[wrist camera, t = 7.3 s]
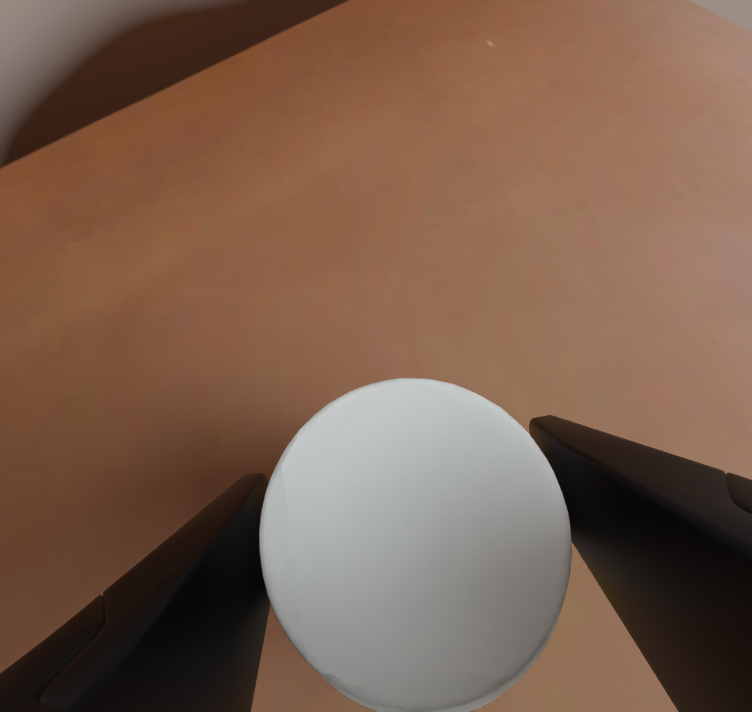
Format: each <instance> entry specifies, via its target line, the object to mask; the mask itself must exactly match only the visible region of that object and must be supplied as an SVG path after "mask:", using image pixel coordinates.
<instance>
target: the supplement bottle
mask: <svg viewBox="0 0 752 712" xmlns="http://www.w3.org/2000/svg"><path fill="white" fill-rule="evenodd" d="M259 537H260V557H261V566H262V572H263V578H264V581H265V585H266V589H267V594H268V597H269V599H270V602H271V605H272V608H273V610H274V612H275V614H276V616H277V619H278V620H279V622H280V624H281V626H282V628H283V630H284V631H285V633H286V635H287V636H288V638H289V640H290V641H291V643H292V644H293V645H294V647H295V648H296V649H297V651H298V652H299V653H300V655H301V656H302V657H303V658H304V659H305V660H306V661H307V662H308V663H309V664H310V665H311V666H312V667H313V668H314V669H315V670H316V671H317V672H318V673H319V674H320V675H321V676H322V677H323V678H324V679H325V680H326V681H327V682H328V683H329V684H331V685H332V686H333V687H334V688H335V689H337V690H338V691H339V692H341V693H342V694H344V695H345V696H346V697H348V698H349V699H351V700H353V701H355V702H357V703H358V704H360V705H363V706H365V707H367V708H369V709H371V710H374V711H377V712H470V711H473V710H475V709H477V708H480V707H482V706H484V705H486V704H488V703H490V702H491V701H493V700H495V699H497V698H498V697H500V696H501V695H503V694H504V693H505V692H507V691H508V690H509V689H510V688H511V687H512V686H514V685H515V684H516V683H517V682H518V681H519V680H520V679H521V678H522V677H523V676H524V675H525V674H526V673H527V672H528V670H529V669H530V668H531V667H532V666H533V664H534V663H535V662H536V661H537V659H538V658H539V656H540V655H541V653H542V651H543V650H544V648H545V646H546V644H547V643H548V641H549V639H550V637H551V635H552V632H553V630H554V627H555V625H556V622H557V620H558V616H559V613H560V610H561V607H562V604H563V601H564V598H565V595H566V591H567V586H568V581H569V576H570V567H571V553H572V548H571V529H570V522H569V515H568V510H567V507H566V504H565V500H564V497H563V494H562V491H561V489H560V486H559V484H558V481H557V478H556V476H555V474H554V472H553V470H552V468H551V466H550V464H549V462H548V460H547V458H546V457H545V456H544V454H543V453H542V451H541V450H540V448H539V447H538V445H537V444H536V443H535V441H534V440H533V438H532V437H531V436H530V435H529V434H528V433H527V432H526V430H525V429H524V428H523V427H522V426H521V425H520V424H519V423H518V422H516V421H515V420H514V419H513V418H512V417H511V416H510V415H509V414H507V413H506V412H505V411H504V410H503V409H502V408H500V407H499V406H497V405H495V404H494V403H492V402H490V401H489V400H487V399H485V398H484V397H482V396H480V395H478V394H476V393H474V392H472V391H470V390H467V389H465V388H462V387H459V386H457V385H454V384H450V383H446V382H441V381H437V380H432V379H417V378H402V379H392V380H385V381H381V382H377V383H373V384H369V385H366V386H363V387H360V388H357V389H355V390H352V391H350V392H348V393H346V394H345V395H343V396H341V397H339V398H337V399H335V400H334V401H332V402H331V403H329V404H328V405H326V406H325V407H324V408H322V409H321V410H320V411H319V412H317V413H316V414H315V415H314V416H313V417H312V418H311V419H310V420H309V421H308V422H306V423H305V424H304V425H303V427H302V428H301V429H300V430H299V431H298V432H297V434H296V435H295V436H294V438H293V439H292V440H291V441H290V443H289V444H288V446H287V447H286V449H285V451H284V452H283V454H282V456H281V458H280V460H279V461H278V463H277V465H276V467H275V470H274V472H273V474H272V477H271V479H270V482H269V484H268V487H267V490H266V494H265V498H264V503H263V507H262V512H261V521H260V531H259Z"/></svg>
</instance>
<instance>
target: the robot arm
mask: <svg viewBox="0 0 752 712" xmlns="http://www.w3.org/2000/svg"><path fill="white" fill-rule="evenodd" d="M529 429H530V436H531V437H532V438H533V440H534V441H535V443H536V444H537V445H538V447H539V448H540V450H541V451H542V453H543V454H544V456H545V457H546V458H547V460H548V462H549V464H550V466H551V468H552V470H553V472H554V474H555V476H556V478H557V481H558V484H559V486H560V489H561V491H562V494H563V497H564V500H565V504H566V507H567V510H568V515H569V522H570V529H571V541H572V543H573V544H574V546H575V547H576V549H577V551H578V552H579V554H580V555H581V557H582V559H583V560H584V562H585V563H586V565H587V566H588V568H589V570H590V571H591V573H592V574H593V576H594V578H595V579H596V581H597V582H598V584H599V586H600V587H601V589H602V590H603V592H604V594H605V595H606V597H607V598H608V600H609V602H610V603H611V605H612V606H613V608H614V610H615V611H616V613H617V614H618V616H619V617H620V619H621V621H622V622H623V624H624V625H625V627H626V629H627V630H628V632H629V633H630V635H631V637H632V638H633V640H634V641H635V643H636V645H637V646H638V648H639V649H640V651H641V653H642V654H643V656H644V657H645V659H646V661H647V662H648V664H649V665H650V667H651V669H652V670H653V672H654V673H655V675H656V676H657V678H658V680H659V681H660V683H661V684H662V686H663V688H664V689H665V691H666V692H667V694H668V696H669V697H670V699H671V700H672V702H673V704H674V705H675V707H676V708H677V710H678V712H752V480H750V479H747V478H744V477H741V476H738V475H735V474H732V473H726V475H725V472H724V471H722V470H719V469H716V468H713V467H710V466H707V465H704V464H701V463H698V462H695V461H692V460H689V459H685V458H682V457H679V456H676V455H673V454H670V453H667V452H664V451H661V450H658V449H654V448H651V447H648V446H645V445H642V444H639V443H636V442H633V441H630V440H627V439H623V438H620V437H617V436H614V435H611V434H608V433H605V432H602V431H599V430H596V429H593V428H589V427H586V426H583V425H580V424H577V423H574V422H571V421H568V420H565V419H562V418H559V417H555V416H552V415H547V416H542V417H537V418H533V419H531V421H530V424H529ZM268 484H269V483H268V480H267V477H266V476H265V474H263V473H256V474H251V475H246V476H243V477H242V478H240V479H239V480H238V481H237V482H236V483H234V484H233V485H232V486H231V487H230V488H228V489H227V490H226V491H225V492H224V493H222V494H221V495H220V496H219V497H217V498H216V499H215V500H214V501H213V502H211V503H210V504H209V505H208V506H207V507H205V508H204V509H203V510H202V511H201V512H199V513H198V514H197V515H196V516H195V517H193V518H192V519H191V520H190V521H189V522H187V523H186V524H185V525H184V526H183V527H181V528H180V529H179V530H178V531H176V532H175V533H174V534H173V535H172V536H170V537H169V538H168V539H167V540H166V541H164V542H163V543H162V544H161V545H160V546H158V547H157V548H156V549H155V550H154V551H152V552H151V553H150V554H149V555H148V556H146V557H145V558H144V559H143V560H142V561H140V562H139V563H138V564H137V565H135V566H134V567H133V568H132V569H131V570H129V571H128V572H127V573H126V574H125V575H123V576H122V577H121V578H120V579H119V580H117V581H116V582H115V583H114V584H113V585H111V586H110V587H109V588H108V589H107V590H105V591H104V593H103V596H102V595H99V596H98V597H97V598H95V599H94V600H93V601H92V602H91V603H89V604H88V605H87V606H86V607H85V608H84V609H82V610H81V611H80V612H79V613H77V614H76V615H75V616H74V617H72V618H71V619H70V620H69V621H67V622H66V623H65V624H64V625H63V626H61V627H60V628H59V629H58V630H56V631H55V632H54V633H53V634H51V635H50V636H49V637H48V638H46V639H45V640H44V641H42V642H41V643H40V644H38V645H37V646H36V647H35V648H33V649H32V650H31V651H29V652H28V653H27V654H25V655H24V656H23V657H21V658H20V659H19V660H18V661H16V662H15V663H14V664H12V665H11V666H10V667H8V668H7V669H6V670H4V671H3V672H2V673H0V712H251V707H252V701H253V696H254V691H255V685H256V680H257V674H258V669H259V663H260V658H261V652H262V647H263V641H264V636H265V630H266V625H267V619H268V614H269V609H270V603H271V602H270V599H269V597H268V594H267V589H266V585H265V581H264V578H263V572H262V566H261V557H260V537H259V531H260V521H261V512H262V507H263V503H264V498H265V494H266V490H267V487H268Z"/></svg>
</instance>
